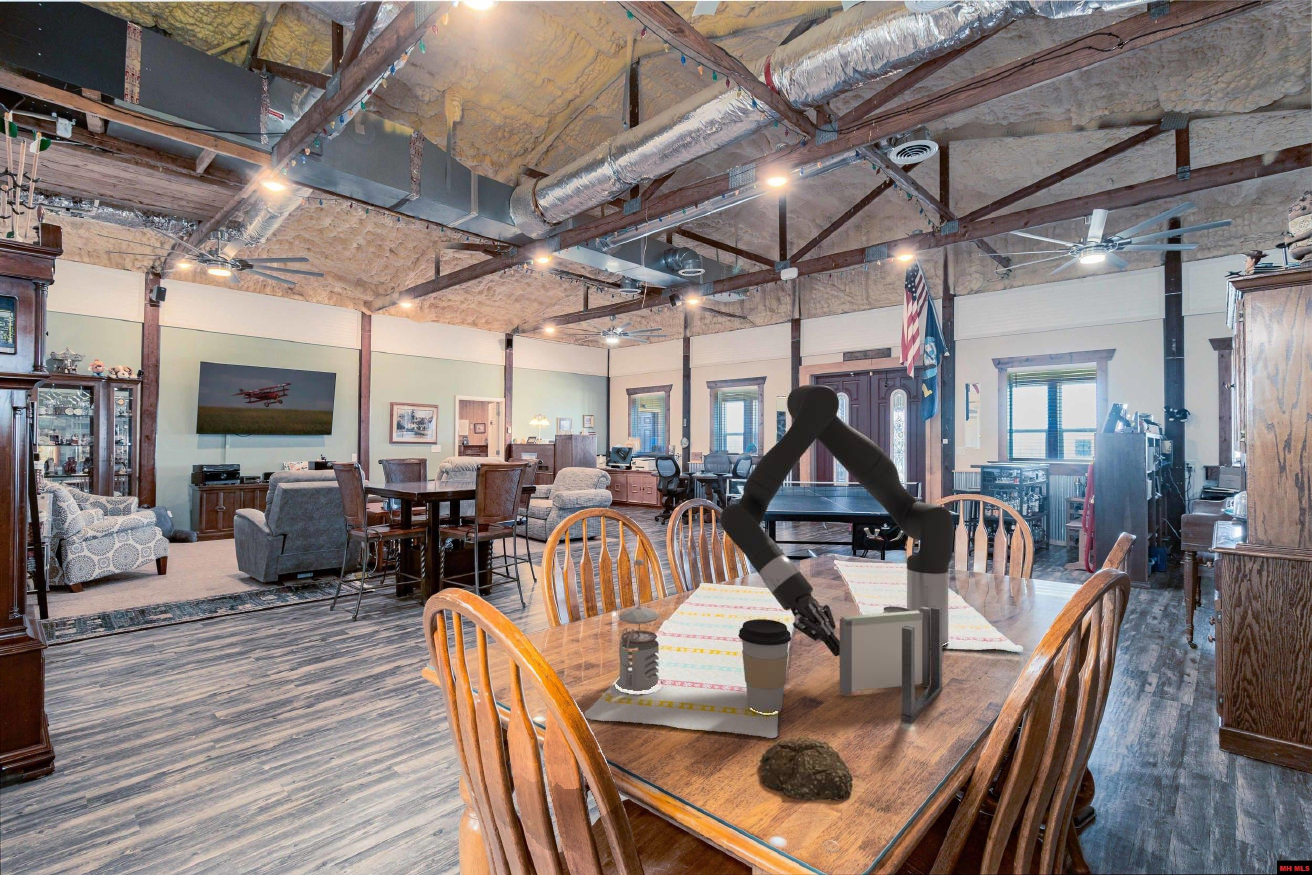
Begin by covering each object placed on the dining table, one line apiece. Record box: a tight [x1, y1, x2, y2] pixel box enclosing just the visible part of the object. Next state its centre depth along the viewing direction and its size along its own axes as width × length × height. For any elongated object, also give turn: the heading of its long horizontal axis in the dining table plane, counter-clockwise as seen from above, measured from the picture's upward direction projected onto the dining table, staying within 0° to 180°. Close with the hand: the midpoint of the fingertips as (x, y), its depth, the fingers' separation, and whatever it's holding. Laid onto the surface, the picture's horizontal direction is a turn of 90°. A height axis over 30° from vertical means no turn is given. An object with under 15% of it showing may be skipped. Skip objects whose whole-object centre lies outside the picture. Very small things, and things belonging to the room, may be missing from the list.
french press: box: [615, 558, 660, 691], centre depth 119 cm, size 10×12×25 cm
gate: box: [839, 607, 931, 696], centre depth 117 cm, size 19×2×15 cm, turn 104°
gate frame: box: [900, 606, 944, 724], centre depth 111 cm, size 19×2×16 cm, turn 139°
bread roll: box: [759, 736, 854, 801], centre depth 87 cm, size 13×12×5 cm
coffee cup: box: [738, 618, 792, 714], centre depth 109 cm, size 9×9×15 cm
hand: (840, 653), depth 119 cm, fingers closed
